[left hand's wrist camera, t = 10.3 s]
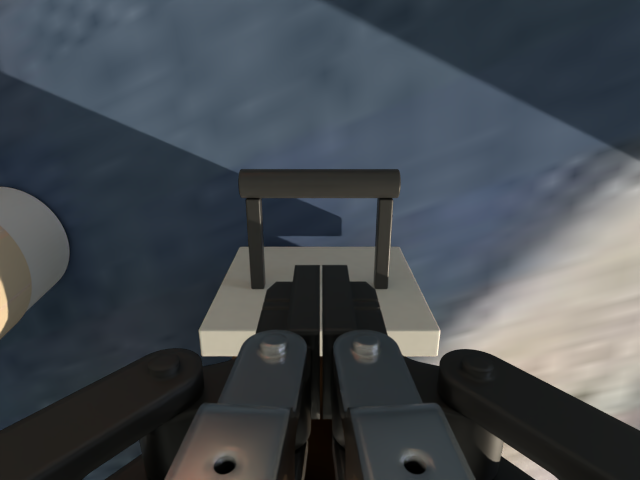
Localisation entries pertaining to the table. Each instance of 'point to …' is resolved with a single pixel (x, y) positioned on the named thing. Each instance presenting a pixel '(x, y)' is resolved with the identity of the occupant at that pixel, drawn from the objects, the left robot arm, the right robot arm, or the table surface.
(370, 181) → the drawer
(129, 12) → the table surface
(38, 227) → the coffee cup
